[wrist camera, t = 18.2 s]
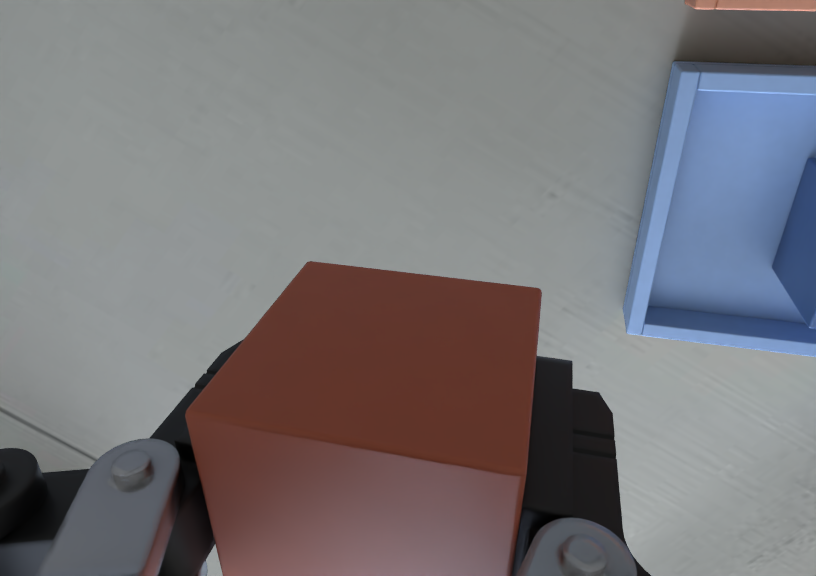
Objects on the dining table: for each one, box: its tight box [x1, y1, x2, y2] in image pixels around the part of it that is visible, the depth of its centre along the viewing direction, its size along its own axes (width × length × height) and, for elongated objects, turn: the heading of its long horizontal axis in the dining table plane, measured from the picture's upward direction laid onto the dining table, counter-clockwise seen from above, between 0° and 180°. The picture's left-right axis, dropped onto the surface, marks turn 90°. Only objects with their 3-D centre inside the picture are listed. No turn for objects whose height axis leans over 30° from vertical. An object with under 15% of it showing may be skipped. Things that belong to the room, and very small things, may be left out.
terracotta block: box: [185, 261, 542, 576], centre depth 10 cm, size 4×4×4 cm
